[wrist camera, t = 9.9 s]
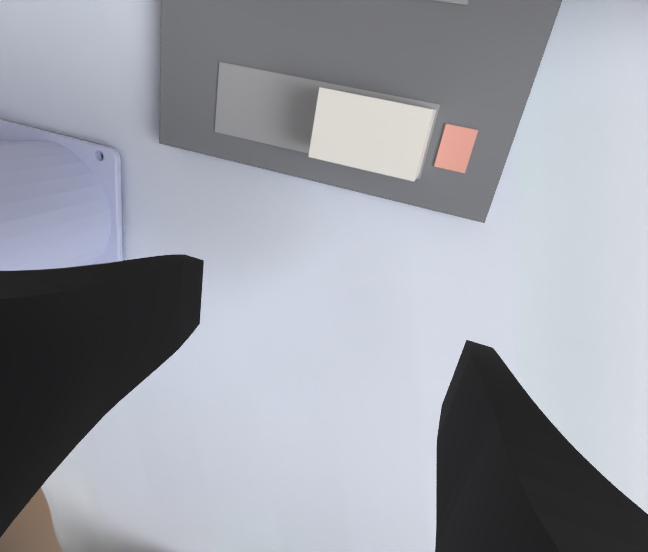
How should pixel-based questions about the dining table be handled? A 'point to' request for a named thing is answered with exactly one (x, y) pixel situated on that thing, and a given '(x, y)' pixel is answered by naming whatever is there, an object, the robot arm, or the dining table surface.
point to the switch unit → (354, 84)
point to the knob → (370, 133)
